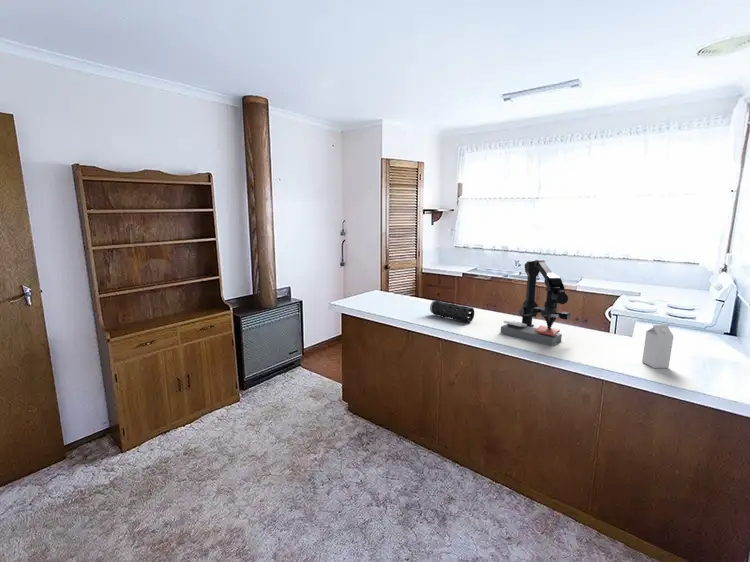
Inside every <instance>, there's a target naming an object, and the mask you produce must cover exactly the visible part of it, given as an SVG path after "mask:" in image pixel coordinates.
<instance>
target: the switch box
mask: <svg viewBox="0 0 750 562" xmlns="http://www.w3.org/2000/svg"><path fill="white" fill-rule="evenodd" d="M537 328H538V327H537ZM537 328H536V327H534V326H532V327H529V326H523V327H520V326H515V325H511V324H507V323H505V324H504V325H501V326H500V334H501V333H502V335H505V334H506V336H509V335H510V336H511V337H514V338H518V339H522V340H526V341H529V342H530V341H531V342H535V343H538V344H542V345H545V346H551V347H553V346H555V345H557V344H559V343H560V342H562V337H563V335H562V333H560V332H558V333H557V334H556V335H555V336H551V335H547V334H542V333H538V332H535V329H537Z"/></svg>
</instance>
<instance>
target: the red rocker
mask: <svg viewBox="0 0 750 562" xmlns="http://www.w3.org/2000/svg"><path fill="white" fill-rule="evenodd" d="M560 330H561V329H559V328H556V327H551V328H550V329H549V328H548V326H547V325H542V324H541V325H539V326H538V327H537V329H535V332H538V333H542V334H547V335H551V336H555V335H556V334H557V333H560V332H561V331H560Z"/></svg>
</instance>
